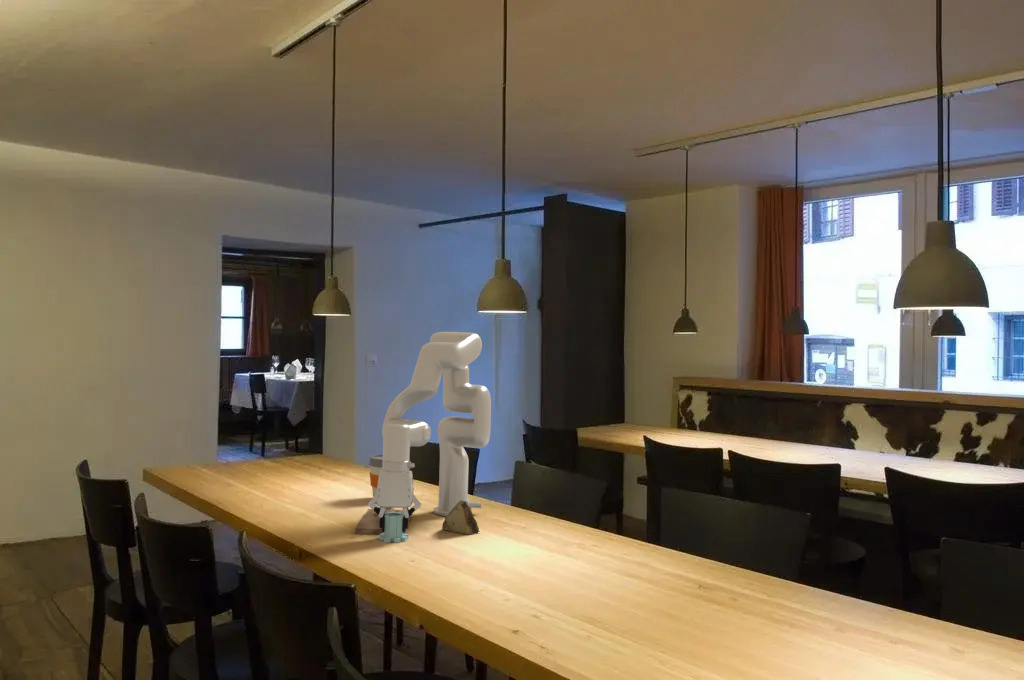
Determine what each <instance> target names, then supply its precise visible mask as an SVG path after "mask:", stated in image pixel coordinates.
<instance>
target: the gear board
mask: <svg viewBox="0 0 1024 680" xmlns="http://www.w3.org/2000/svg"><path fill="white" fill-rule="evenodd" d="M378 507H379V506H378ZM379 508H380V509H381V507H379ZM389 512H401V513H404V512H403V509H395V508H392V507H386V510H385V513H389ZM412 515H413V513H412V514H411V515H410V516H409V518H408V524H409V523H410V521H411V518H412ZM354 533H355V535H356V534H358V535H362V534H363V535H366V534H367V535H380V534H382V533H384V532H382V528H380V517H379V515H378V514H377V513H376V512H375V511H374V510H373V509H372V508H368V509H367V510H366V512H365V514H363V517H362V518H361V520H360V521H359V523H358V524H357V525H356V527H355V532H354ZM403 534H406V531H405V532H403Z"/></svg>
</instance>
